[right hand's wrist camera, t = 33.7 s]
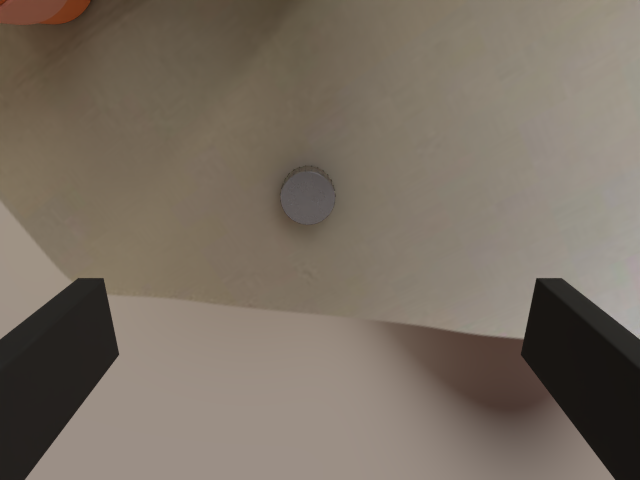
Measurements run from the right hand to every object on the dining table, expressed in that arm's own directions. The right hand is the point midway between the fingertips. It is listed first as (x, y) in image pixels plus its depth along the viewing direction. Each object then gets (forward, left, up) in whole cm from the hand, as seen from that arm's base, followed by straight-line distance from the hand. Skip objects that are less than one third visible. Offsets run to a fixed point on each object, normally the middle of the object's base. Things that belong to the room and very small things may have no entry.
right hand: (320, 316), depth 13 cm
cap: (0, 0, -17) cm, 17 cm away
